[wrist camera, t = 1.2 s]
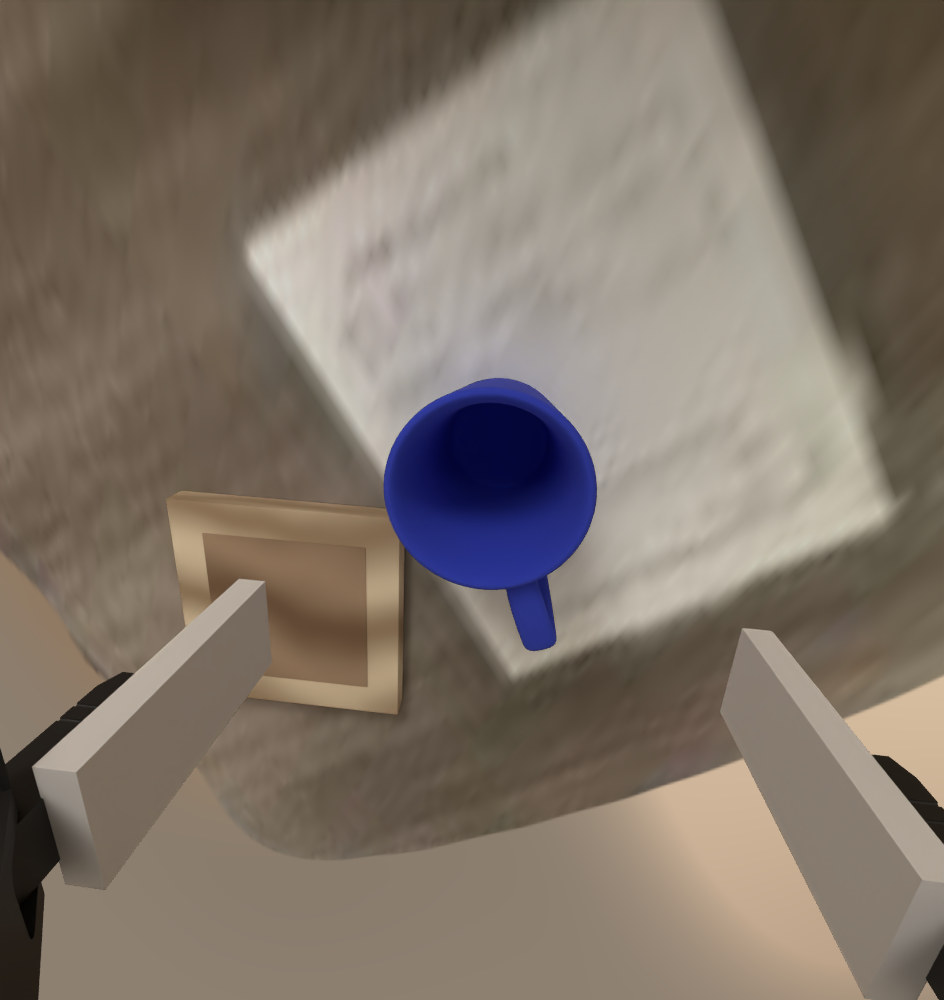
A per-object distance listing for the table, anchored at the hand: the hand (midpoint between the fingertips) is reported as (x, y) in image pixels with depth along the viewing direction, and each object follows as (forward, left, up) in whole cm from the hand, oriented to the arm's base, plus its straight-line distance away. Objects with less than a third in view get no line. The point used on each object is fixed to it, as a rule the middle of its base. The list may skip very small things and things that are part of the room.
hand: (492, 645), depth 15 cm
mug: (0, 0, -17) cm, 17 cm away
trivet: (+10, -13, -16) cm, 23 cm away
